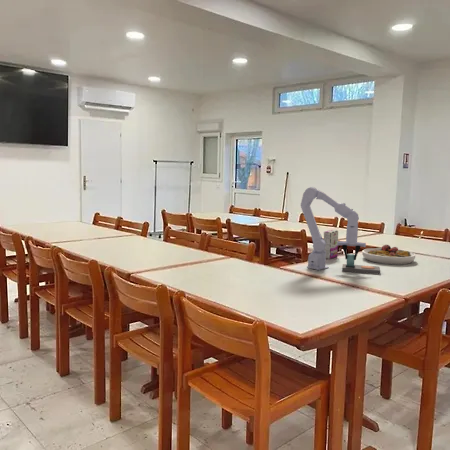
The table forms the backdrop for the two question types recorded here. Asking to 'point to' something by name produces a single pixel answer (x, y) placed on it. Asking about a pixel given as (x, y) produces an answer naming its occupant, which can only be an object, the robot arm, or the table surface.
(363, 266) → the orange disc
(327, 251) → the candy bar box
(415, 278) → the table surface
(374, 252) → the bowl
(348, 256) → the plug
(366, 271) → the board with square hole
